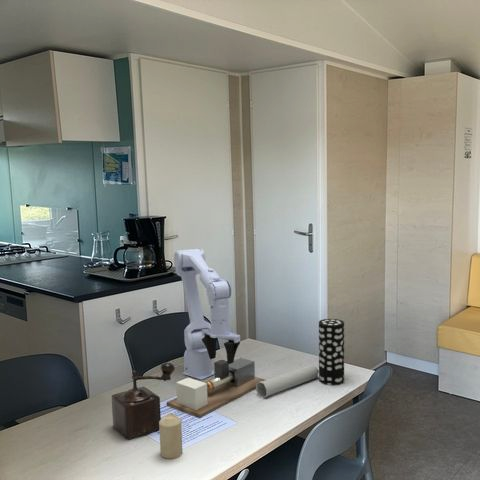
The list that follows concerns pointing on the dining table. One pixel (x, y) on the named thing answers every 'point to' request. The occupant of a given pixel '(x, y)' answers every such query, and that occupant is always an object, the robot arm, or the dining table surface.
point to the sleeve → (242, 371)
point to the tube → (286, 381)
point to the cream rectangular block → (192, 393)
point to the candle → (170, 436)
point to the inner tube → (220, 375)
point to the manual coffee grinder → (138, 407)
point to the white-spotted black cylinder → (331, 351)
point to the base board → (218, 398)
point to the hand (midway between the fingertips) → (221, 360)
